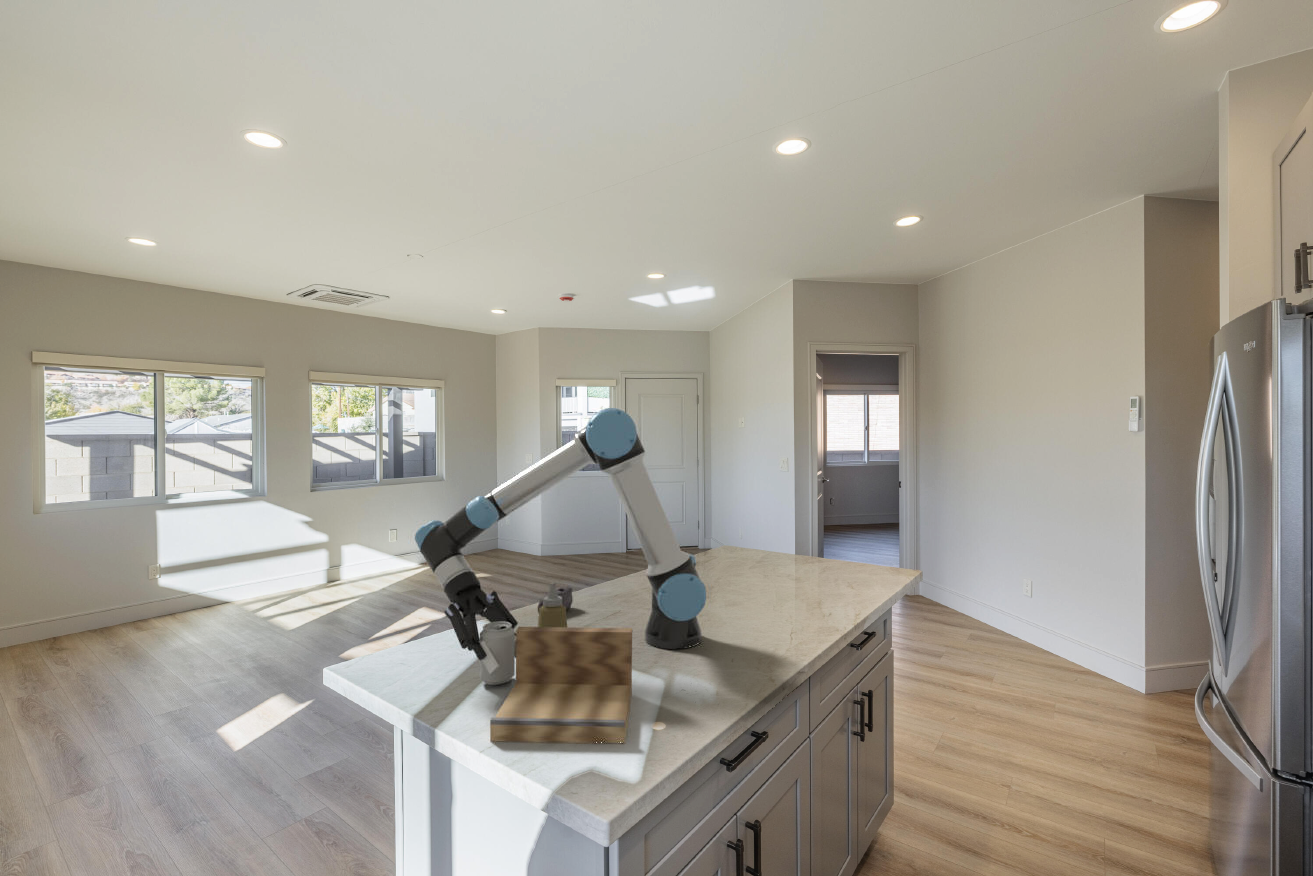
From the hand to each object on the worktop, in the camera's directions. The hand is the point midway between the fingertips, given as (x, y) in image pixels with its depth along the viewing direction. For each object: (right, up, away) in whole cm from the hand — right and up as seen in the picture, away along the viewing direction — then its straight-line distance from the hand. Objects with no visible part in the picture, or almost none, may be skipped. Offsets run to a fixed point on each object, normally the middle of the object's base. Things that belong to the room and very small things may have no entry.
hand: (508, 663), depth 129 cm
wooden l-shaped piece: (+15, -5, -14) cm, 21 cm away
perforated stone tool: (+1, -5, +53) cm, 53 cm away
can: (-3, -4, +2) cm, 6 cm away
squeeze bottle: (+6, -5, +18) cm, 19 cm away
